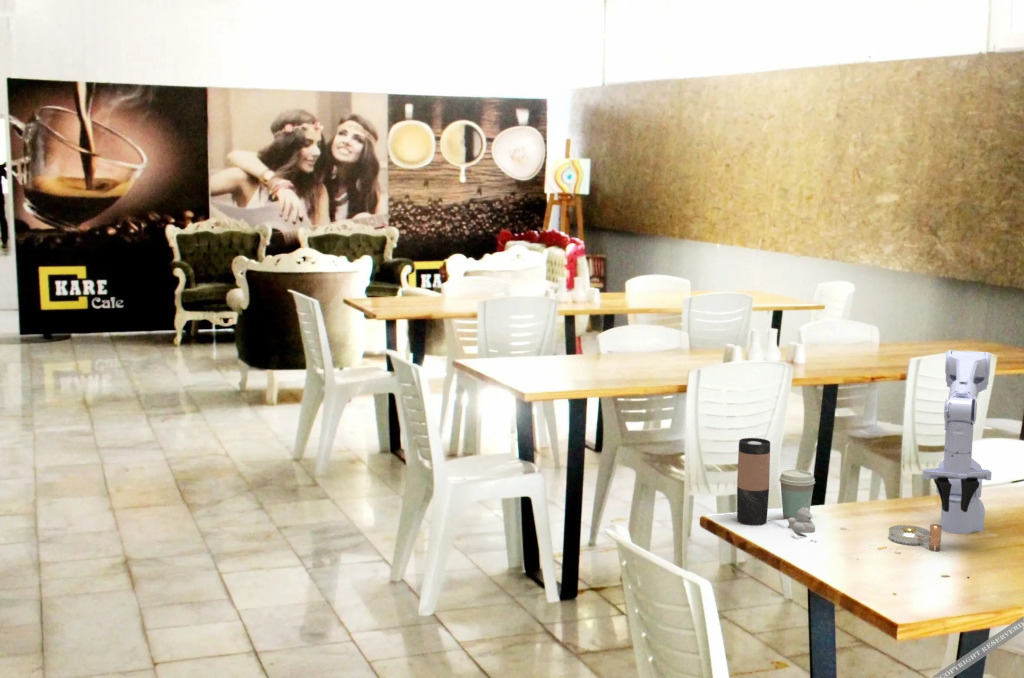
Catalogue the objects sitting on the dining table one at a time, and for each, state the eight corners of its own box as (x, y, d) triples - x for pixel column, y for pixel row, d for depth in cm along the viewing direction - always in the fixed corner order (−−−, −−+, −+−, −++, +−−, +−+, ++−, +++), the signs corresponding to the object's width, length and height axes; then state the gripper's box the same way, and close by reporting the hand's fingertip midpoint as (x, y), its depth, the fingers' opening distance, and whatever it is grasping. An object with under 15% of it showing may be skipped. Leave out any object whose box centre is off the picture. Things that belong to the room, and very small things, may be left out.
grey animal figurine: (809, 541, 273) (810, 507, 272) (782, 535, 277) (784, 502, 276) (818, 535, 277) (820, 502, 276) (792, 530, 281) (793, 497, 280)
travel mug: (774, 522, 287) (777, 442, 284) (752, 527, 283) (755, 446, 280) (751, 515, 293) (753, 436, 290) (729, 520, 289) (731, 440, 286)
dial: (880, 536, 271) (881, 513, 271) (910, 531, 275) (911, 508, 274) (922, 553, 259) (923, 529, 258) (954, 548, 263) (955, 524, 262)
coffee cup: (814, 527, 283) (816, 478, 282) (778, 525, 285) (779, 476, 283) (812, 517, 292) (814, 470, 290) (777, 515, 293) (779, 468, 292)
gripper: (930, 454, 257) (927, 515, 259) (998, 455, 257) (994, 516, 258) (920, 447, 264) (917, 506, 266) (986, 448, 263) (982, 507, 265)
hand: (954, 510), depth 263 cm, fingers open, 3 cm apart
